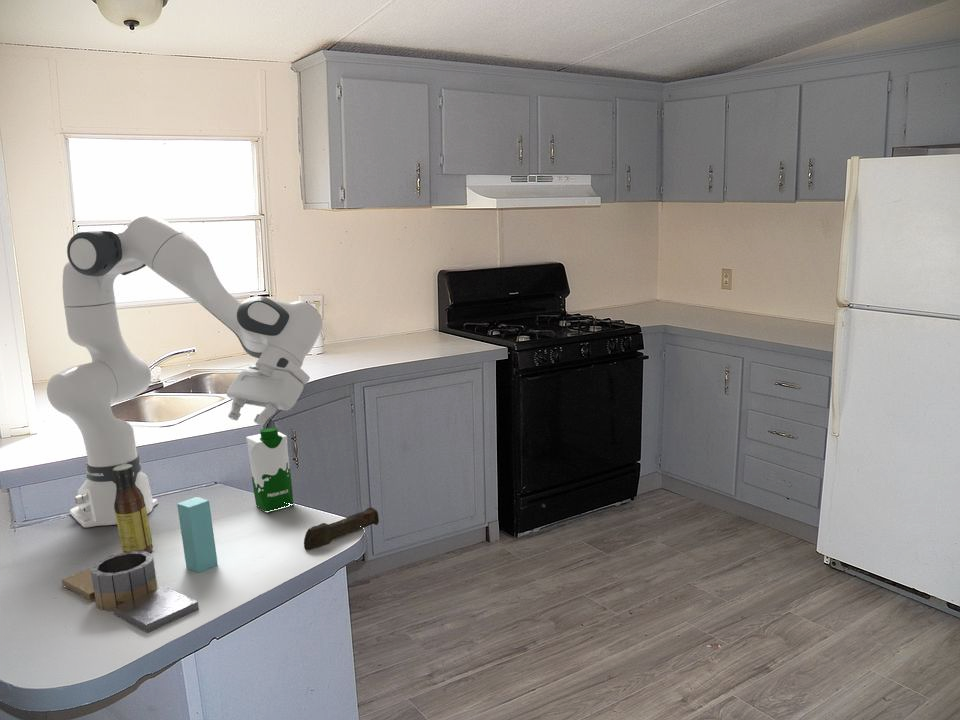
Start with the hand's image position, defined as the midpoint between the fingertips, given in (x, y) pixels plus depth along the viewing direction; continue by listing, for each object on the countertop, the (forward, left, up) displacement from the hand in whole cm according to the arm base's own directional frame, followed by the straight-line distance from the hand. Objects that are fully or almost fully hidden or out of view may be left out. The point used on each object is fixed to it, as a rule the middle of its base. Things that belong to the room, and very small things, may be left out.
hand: (244, 421), depth 174 cm
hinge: (0, -30, -27) cm, 41 cm away
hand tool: (+14, +12, -28) cm, 33 cm away
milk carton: (-16, +16, -28) cm, 36 cm away
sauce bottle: (-19, -18, -28) cm, 38 cm away
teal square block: (0, -14, -27) cm, 31 cm away
